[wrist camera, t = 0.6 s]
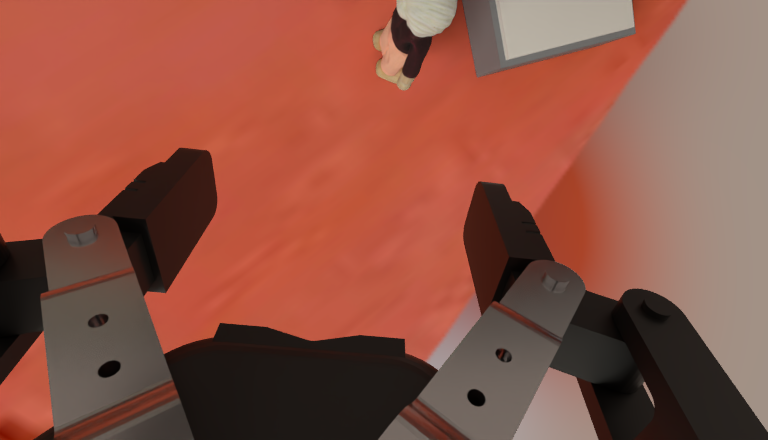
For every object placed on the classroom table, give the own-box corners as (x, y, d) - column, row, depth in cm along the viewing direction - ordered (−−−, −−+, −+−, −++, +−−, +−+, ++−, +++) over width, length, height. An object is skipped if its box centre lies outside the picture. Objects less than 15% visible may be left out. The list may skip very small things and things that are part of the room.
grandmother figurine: (422, 90, 35) (486, 61, 22) (379, 100, 34) (421, 77, 22) (401, -6, 33) (458, -92, 21) (356, 4, 32) (387, -79, 20)
